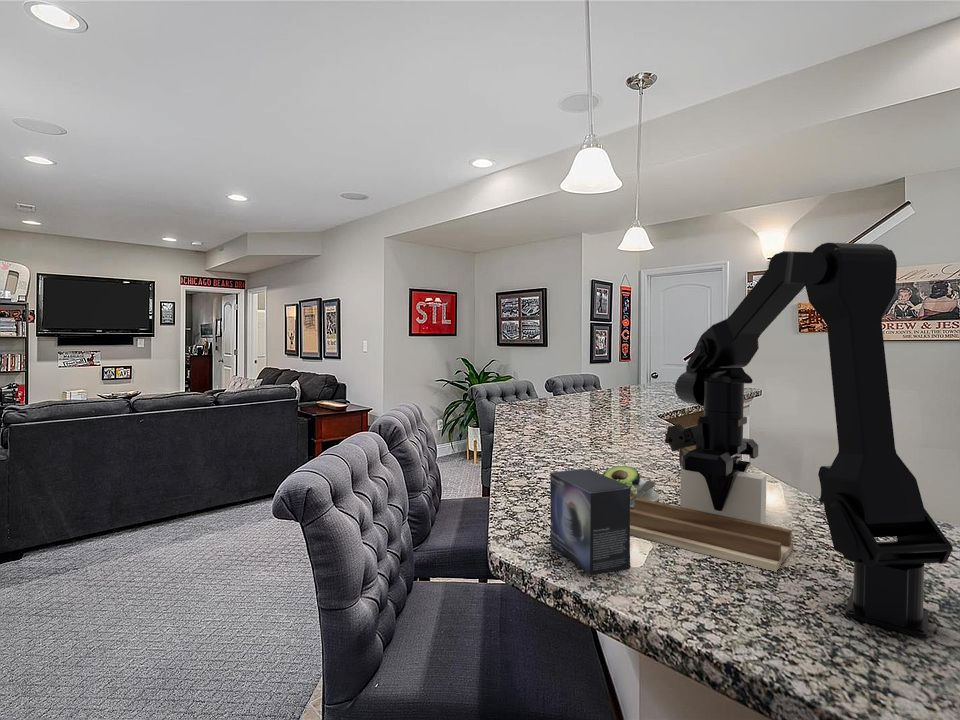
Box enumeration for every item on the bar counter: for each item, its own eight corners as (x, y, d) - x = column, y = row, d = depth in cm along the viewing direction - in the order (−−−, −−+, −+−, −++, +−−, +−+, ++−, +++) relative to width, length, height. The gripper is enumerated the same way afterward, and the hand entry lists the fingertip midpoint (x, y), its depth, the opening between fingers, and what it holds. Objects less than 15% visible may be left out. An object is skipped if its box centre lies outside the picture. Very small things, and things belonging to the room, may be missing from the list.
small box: (546, 545, 73) (547, 470, 73) (586, 539, 75) (587, 467, 75) (587, 576, 63) (588, 490, 63) (632, 568, 66) (633, 485, 65)
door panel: (760, 532, 78) (761, 479, 78) (680, 514, 86) (680, 466, 86) (765, 527, 80) (766, 475, 80) (686, 510, 88) (687, 463, 88)
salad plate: (681, 518, 85) (681, 490, 85) (570, 516, 87) (571, 488, 86) (650, 486, 105) (650, 463, 105) (560, 484, 106) (560, 462, 106)
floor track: (776, 572, 64) (776, 548, 64) (612, 530, 79) (612, 510, 79) (793, 549, 72) (793, 527, 72) (640, 514, 86) (641, 496, 86)
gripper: (692, 401, 95) (691, 486, 96) (649, 411, 81) (648, 511, 82) (760, 406, 88) (758, 498, 88) (725, 418, 74) (723, 527, 74)
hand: (721, 507), depth 83 cm, fingers closed on door panel, 3 cm apart
